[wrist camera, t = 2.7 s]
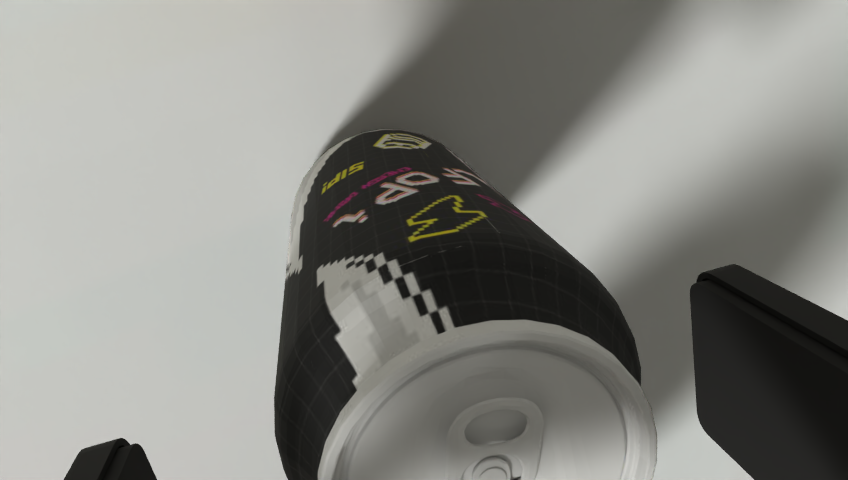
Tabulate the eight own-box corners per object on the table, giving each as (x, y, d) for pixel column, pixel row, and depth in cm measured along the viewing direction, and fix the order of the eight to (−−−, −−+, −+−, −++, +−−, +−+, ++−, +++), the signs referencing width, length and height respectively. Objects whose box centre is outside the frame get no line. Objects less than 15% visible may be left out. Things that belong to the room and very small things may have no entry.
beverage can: (474, 119, 18) (733, 261, 7) (474, 290, 20) (678, 613, 9) (282, 130, 17) (233, 313, 6) (301, 308, 19) (291, 692, 8)
